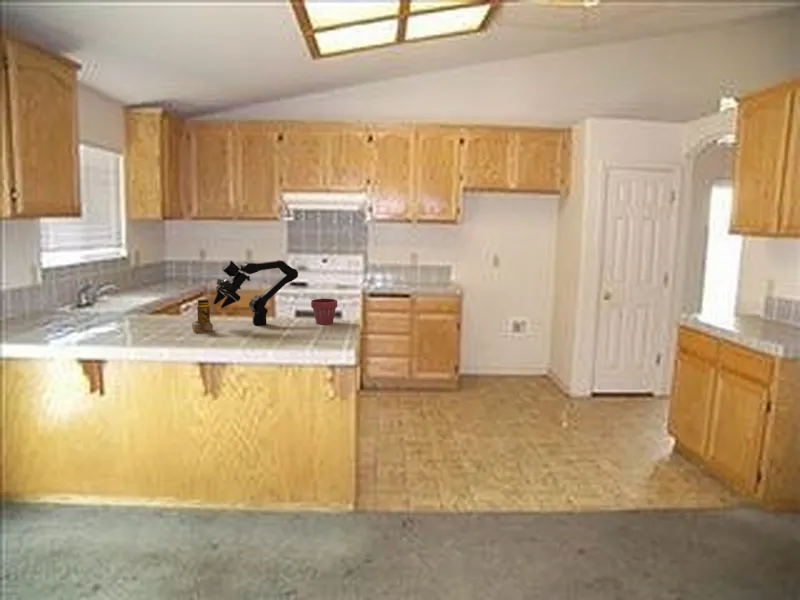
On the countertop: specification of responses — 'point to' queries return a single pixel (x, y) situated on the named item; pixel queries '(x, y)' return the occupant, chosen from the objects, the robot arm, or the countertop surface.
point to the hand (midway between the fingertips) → (217, 305)
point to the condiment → (203, 312)
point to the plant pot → (324, 310)
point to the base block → (202, 327)
